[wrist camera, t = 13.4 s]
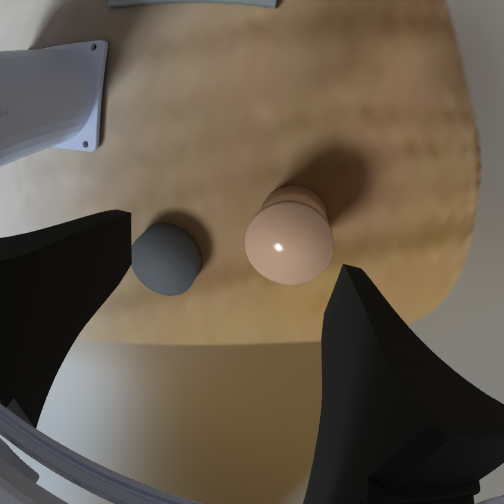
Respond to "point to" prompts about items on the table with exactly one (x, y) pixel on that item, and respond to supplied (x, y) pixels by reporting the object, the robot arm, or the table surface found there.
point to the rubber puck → (166, 259)
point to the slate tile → (251, 0)
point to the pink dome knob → (290, 236)
